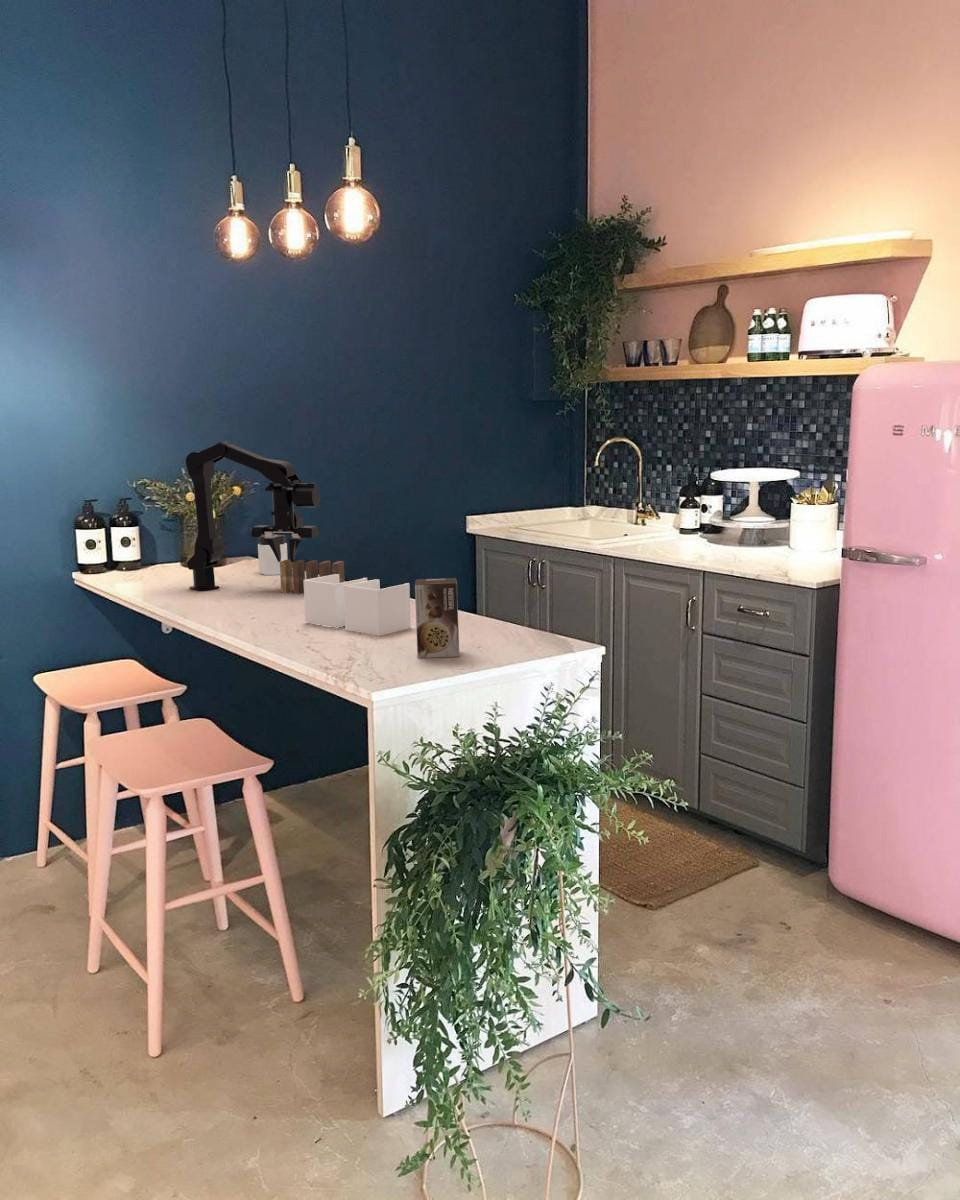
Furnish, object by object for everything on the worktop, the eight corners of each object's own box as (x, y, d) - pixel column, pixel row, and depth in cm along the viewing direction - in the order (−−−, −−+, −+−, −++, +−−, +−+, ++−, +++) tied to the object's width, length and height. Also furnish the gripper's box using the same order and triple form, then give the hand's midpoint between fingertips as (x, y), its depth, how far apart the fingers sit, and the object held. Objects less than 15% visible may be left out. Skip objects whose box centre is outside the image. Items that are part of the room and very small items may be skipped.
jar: (269, 570, 358) (267, 533, 356) (292, 571, 356) (290, 534, 353) (254, 574, 350) (252, 536, 348) (277, 575, 347) (275, 537, 345)
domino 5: (333, 594, 314) (332, 563, 312) (339, 591, 318) (338, 561, 317) (338, 594, 313) (337, 563, 312) (345, 591, 318) (343, 561, 316)
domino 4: (320, 594, 315) (318, 563, 313) (326, 591, 319) (325, 560, 318) (325, 594, 314) (324, 563, 313) (331, 591, 319) (330, 560, 317)
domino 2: (293, 593, 317) (292, 562, 315) (300, 590, 321) (298, 560, 320) (299, 593, 316) (297, 562, 315) (305, 590, 321) (304, 560, 319)
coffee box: (458, 650, 244) (457, 577, 241) (459, 657, 238) (458, 582, 235) (417, 651, 244) (415, 578, 241) (416, 658, 237) (414, 583, 234)
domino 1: (281, 592, 318) (279, 561, 317) (288, 589, 323) (286, 559, 321) (286, 592, 318) (284, 562, 316) (293, 589, 322) (291, 559, 321)
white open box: (305, 624, 275) (303, 580, 273) (337, 616, 284) (336, 574, 282) (378, 636, 260) (377, 590, 258) (410, 628, 268) (409, 583, 266)
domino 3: (306, 593, 316) (305, 562, 314) (313, 590, 320) (312, 560, 319) (312, 593, 315) (310, 563, 314) (318, 590, 320) (317, 560, 318)
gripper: (325, 504, 321) (327, 558, 324) (265, 503, 325) (268, 557, 328) (309, 508, 310) (312, 564, 313) (248, 507, 315) (251, 562, 318)
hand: (286, 561), depth 318 cm, fingers open, 4 cm apart
